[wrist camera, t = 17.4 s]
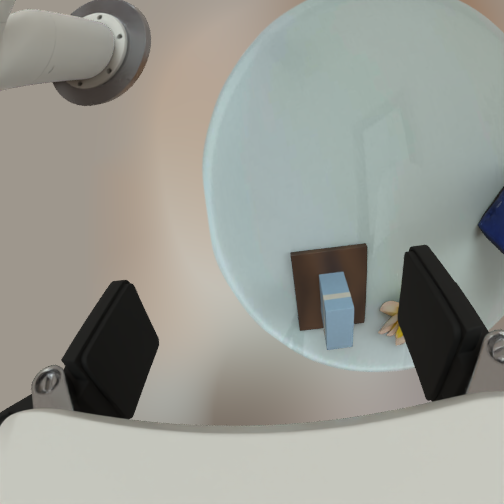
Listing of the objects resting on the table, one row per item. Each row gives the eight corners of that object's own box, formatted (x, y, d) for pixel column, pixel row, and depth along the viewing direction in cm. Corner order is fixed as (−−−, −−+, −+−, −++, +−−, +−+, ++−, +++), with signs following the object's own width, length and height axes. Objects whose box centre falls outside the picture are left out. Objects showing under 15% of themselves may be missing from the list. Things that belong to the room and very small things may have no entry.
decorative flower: (378, 347, 56) (391, 377, 46) (364, 299, 53) (379, 325, 44) (444, 318, 53) (466, 343, 43) (436, 269, 50) (461, 288, 41)
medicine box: (321, 312, 53) (326, 350, 45) (318, 274, 49) (325, 311, 41) (343, 309, 52) (352, 346, 45) (343, 271, 48) (354, 307, 41)
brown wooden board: (299, 327, 56) (299, 330, 55) (290, 252, 49) (290, 255, 48) (363, 319, 55) (364, 322, 54) (365, 243, 47) (367, 246, 46)
